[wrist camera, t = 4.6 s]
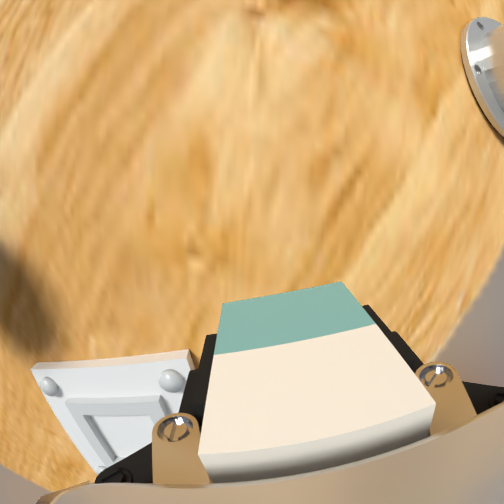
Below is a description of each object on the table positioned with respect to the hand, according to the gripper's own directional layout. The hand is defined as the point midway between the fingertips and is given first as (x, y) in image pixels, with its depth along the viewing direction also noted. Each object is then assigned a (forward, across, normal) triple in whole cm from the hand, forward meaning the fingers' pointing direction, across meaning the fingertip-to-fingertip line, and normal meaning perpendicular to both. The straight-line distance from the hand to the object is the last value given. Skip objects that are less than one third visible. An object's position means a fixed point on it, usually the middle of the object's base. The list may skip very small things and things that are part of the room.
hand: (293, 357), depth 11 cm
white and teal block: (+1, 0, 0) cm, 1 cm away
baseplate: (+8, +14, +11) cm, 19 cm away
